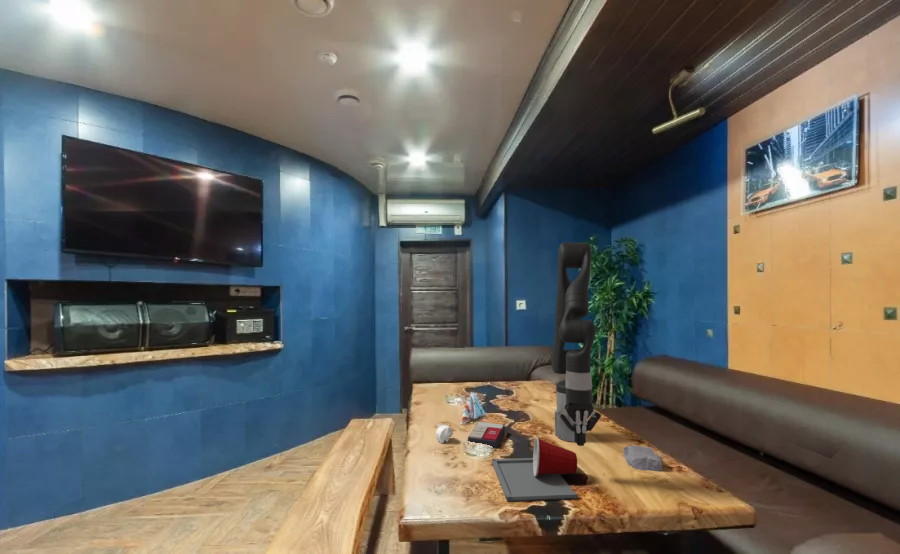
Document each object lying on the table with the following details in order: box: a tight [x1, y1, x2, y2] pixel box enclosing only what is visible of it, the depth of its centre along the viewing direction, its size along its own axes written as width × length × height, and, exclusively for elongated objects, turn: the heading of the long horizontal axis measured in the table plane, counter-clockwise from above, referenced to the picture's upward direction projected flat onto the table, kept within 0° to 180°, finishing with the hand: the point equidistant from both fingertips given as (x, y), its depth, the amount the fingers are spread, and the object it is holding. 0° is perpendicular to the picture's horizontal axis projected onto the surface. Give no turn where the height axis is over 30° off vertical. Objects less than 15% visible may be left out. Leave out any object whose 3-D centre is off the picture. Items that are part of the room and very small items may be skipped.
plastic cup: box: [532, 436, 578, 476], centre depth 106 cm, size 11×11×12 cm
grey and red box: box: [467, 421, 506, 450], centre depth 135 cm, size 11×4×15 cm
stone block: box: [622, 445, 663, 472], centre depth 116 cm, size 12×5×10 cm
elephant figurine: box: [434, 422, 454, 444], centre depth 133 cm, size 7×8×6 cm
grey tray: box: [491, 457, 579, 503], centre depth 105 cm, size 19×22×1 cm
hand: (580, 444), depth 106 cm, fingers closed
